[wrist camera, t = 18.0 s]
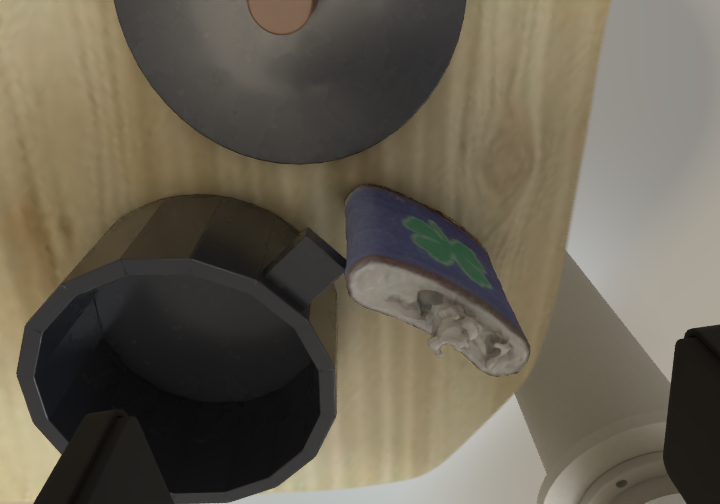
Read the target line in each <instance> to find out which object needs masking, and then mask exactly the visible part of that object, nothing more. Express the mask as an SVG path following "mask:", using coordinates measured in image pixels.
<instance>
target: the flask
mask: <svg viewBox="0 0 720 504" xmlns="http://www.w3.org/2000/svg"><path fill="white" fill-rule="evenodd" d="M344 206H345V217H346V239H347V263H346V268H345V278H346V287H347V290H348V293H349V296H350V297H351V298H352V299H353V300H354V301H356V302H357V303H359V304H360V305H362V306H363V307H365V308H368V309H371V310H374V311H378V312H381V313H383V314H385V315H388V316H392V317H396V318H398V319H400V320H403V321H405V322H406V323H408V324H412V325H413V326H414V327H416V328H419V329H421V330H423V331H425V332H427V333H429V334H431V336H432V337H431V338H430V339H429V340H428V346H429V347H430V348H431V349H432V350H433V351H434V352H435V354H436V356H437V357H444V356H445V355H444V354H443V353H442V351H441V350H440V348H441V346H442V345H444V344H449V345H451V346H452V347H453V348H454V349H455V350H458V351H460V352H461V353H462V354H463V355H464V356H465V357H467V358H468V359H469V360H470V361H471V362H472V363H473V364H474V365H475V366H476V367H477V368H478V369H479V370H481V371H483V372H485V373H486V374H488V375H491V376H496V377H498V376H501V375H507V376H508V375H512V374H516V373H518V372H519V371H520V370H521V368H522V367H523V366H524V365H525V364H526V363H527V361H528V358H529V354H530V345H529V343H528V341H527V339H526V337H525V335H524V334H523V331H522V329H521V327H520V325H519V323H518V321H517V319H516V317H515V314H514V312H513V311H512V309H511V307H510V304H509V302H508V301H507V298H506V296H505V293H504V291H503V289H502V286H501V283H500V281H499V279H498V278H497V276H496V273H495V271H494V269H493V267H492V264H491V262H490V258H489V256H488V253H487V251H486V249H485V248H483V247H482V245H481V243H480V242H479V241H478V240H477V238H475V237H474V236H472V235H471V234H469V233H468V232H467V230H466V229H465V228H464V227H460V225H458V224H457V222H456V221H453V220H452V219H451V218H450V217H446V216H445V215H443V214H442V213H441V212H439V211H435V210H433V209H431V208H429V207H427V206H426V205H424V204H422V203H419V202H417V201H416V200H413V199H412V198H408V197H406V196H405V195H403V194H400V193H399V192H395V191H393V190H391V189H389V188H386V187H382V186H377V185H373V184H369V185H365V184H362V185H361V186H359V187H356V188H355V189H354V190H353V191H352V192H351V193H350V194H349V195H348V197H347V199H346V202H345V205H344Z"/></svg>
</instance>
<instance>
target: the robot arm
mask: <svg viewBox="0 0 720 504" xmlns="http://www.w3.org/2000/svg"><path fill="white" fill-rule="evenodd" d="M34 504H174V502H173V500H172V497H171V495H170V493H169V490H168V488H167V486H166V483H165V481H164V479H163V477H162V474H161V472H160V470H159V467H158V465H157V463H156V461H155V458H154V456H153V454H152V451H151V449H150V447H149V444H148V442H147V440H146V438H145V435H144V433H143V431H142V428H141V426H140V424H139V422H138V420H137V418H136V417H134V416H128V414H127V413H126V412H125V411H124V410H123V409H117V410H109V411H102V412H95V413H89V414H88V415H86V416H85V417H84V418H83V420H82V421H81V423H80V425H79V426H78V428H77V430H76V431H75V433H74V435H73V437H72V438H71V440H70V442H69V443H68V445H67V447H66V449H65V450H64V452H63V454H62V455H61V457H60V459H59V461H58V462H57V464H56V466H55V467H54V469H53V471H52V473H51V474H50V476H49V478H48V479H47V481H46V483H45V485H44V486H43V488H42V490H41V492H40V493H39V495H38V497H37V498H36V500H35V502H34ZM580 504H720V325H714V326H707V327H700V328H692V329H690V330H687V332H686V333H685V336H684V339H679V340H678V341H677V342H676V345H675V352H674V361H673V370H672V379H671V388H670V397H669V406H668V415H667V423H666V432H665V441H664V450H663V451H661V452H654V453H649V454H645V455H642V456H638V457H635V458H632V459H630V460H628V461H625V462H623V463H621V464H619V465H617V466H615V467H614V468H612V469H610V470H609V471H607V472H606V473H605V474H603V475H602V476H601V477H600V478H598V479H597V480H596V481H595V482H594V483H593V484H592V485H591V487H590V488H589V489H588V490H587V491H586V493H585V495H584V496H583V498H582V499H581V501H580Z"/></svg>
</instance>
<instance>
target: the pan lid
mask: <svg viewBox="0 0 720 504" xmlns="http://www.w3.org/2000/svg"><path fill="white" fill-rule="evenodd" d="M114 3H115V7H116V11H117V15H118V20H119V22H120V25H121V28H122V31H123V33H124V36H125V39H126V42H127V44H128V46H129V48H130V50H131V52H132V54H133V56H134V58H135V60H136V62H137V64H138V66H139V68H140V69H141V71H142V72H143V74H144V75H145V77H146V78H147V80H148V81H149V83H150V84H151V86H152V87H153V88H154V90H155V91H156V92H157V93H158V95H159V96H160V97H161V98H162V99H163V101H164V102H165V103H166V104H167V105H168V106H169V107H170V108H171V109H172V110H173V111H174V112H175V113H176V114H177V115H178V116H179V117H180V118H181V119H182V120H183V121H185V122H186V123H187V124H189V125H190V126H191V127H193V128H194V129H195V130H197V131H198V132H199V133H200V134H202V135H204V136H205V137H207V138H209V139H210V140H212V141H214V142H215V143H217V144H219V145H221V146H223V147H225V148H228V149H230V150H232V151H234V152H237V153H239V154H242V155H245V156H248V157H252V158H255V159H258V160H263V161H269V162H274V163H281V164H313V163H323V162H327V161H332V160H337V159H341V158H344V157H347V156H350V155H353V154H356V153H359V152H361V151H363V150H365V149H367V148H369V147H371V146H373V145H375V144H377V143H379V142H380V141H382V140H383V139H385V138H387V137H388V136H390V135H391V134H393V133H394V132H395V131H397V130H398V129H399V128H400V127H401V126H402V125H404V124H405V123H406V122H407V121H408V120H409V119H411V118H412V117H413V115H414V114H415V113H416V112H417V111H418V110H419V109H420V108H421V107H422V106H423V104H424V103H425V102H426V101H427V99H428V98H429V97H430V95H431V94H432V92H433V91H434V89H435V88H436V87H437V85H438V84H439V82H440V80H441V78H442V76H443V74H444V73H445V71H446V69H447V67H448V65H449V63H450V60H451V58H452V55H453V53H454V50H455V48H456V45H457V42H458V39H459V35H460V31H461V27H462V23H463V19H464V13H465V6H466V0H114Z"/></svg>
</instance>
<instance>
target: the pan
mask: <svg viewBox="0 0 720 504" xmlns="http://www.w3.org/2000/svg"><path fill="white" fill-rule="evenodd" d="M346 263H347V261H346V259H345V258H343V257H342V256H341V255H340V254H339V253H338V252H337V251H335V250H334V249H333V248H332V247H331V246H330V245H328V244H327V243H326V242H325V241H324V240H323V239H321V238H320V237H319V236H318V235H317V234H316V233H314V232H313V231H312V230H311V229H310V228H309V227H307V228H306V229H305V230H304V231H303V232H302V233H301V234H300V233H299V232H298V231H297V230H296V229H295V228H293V227H292V226H291V225H289V224H288V223H287V222H285V221H284V220H283V219H281V218H279V217H277V216H276V215H274V214H272V213H271V212H269V211H267V210H265V209H262V208H260V207H258V206H255V205H253V204H251V203H247V202H244V201H240V200H237V199H234V198H228V197H222V196H216V195H198V194H196V195H182V196H175V197H170V198H165V199H161V200H158V201H155V202H152V203H149V204H147V205H144V206H142V207H140V208H138V209H136V210H134V211H133V212H131V213H129V214H128V215H126V216H124V217H121V218H120V219H118V220H117V221H116V222H115V223H114V224H113V226H112V227H111V228H110V229H109V230H108V231H107V232H106V233H105V235H104V236H103V237H102V238H101V239H100V240H99V241H98V242H97V244H96V245H95V246H94V247H93V248H92V249H91V250H90V251H89V253H88V254H87V255H86V256H85V257H84V258H83V259H82V260H81V262H80V263H79V264H78V265H77V266H76V267H75V268H74V269H73V271H72V272H71V273H70V274H69V275H68V276H67V277H66V278H65V280H64V281H63V282H62V283H61V284H60V285H59V286H58V288H57V289H56V290H55V291H54V292H53V293H52V294H51V296H50V297H49V298H48V299H47V300H46V301H45V302H44V304H43V305H42V306H41V307H40V308H39V309H38V310H37V312H36V313H35V314H34V315H33V316H32V317H31V318H30V320H29V321H28V322H27V323H26V325H25V328H24V334H23V339H22V345H21V351H20V356H19V362H18V367H17V373H16V374H17V378H18V381H19V384H20V387H21V389H22V392H23V395H24V398H25V401H26V404H27V407H28V410H29V413H30V416H31V418H32V421H33V422H34V425H35V426H36V427H37V428H38V429H39V430H40V431H41V432H42V433H43V435H44V436H45V437H46V438H47V439H48V440H49V441H50V442H51V443H52V444H53V446H54V447H55V448H56V449H57V450H58V451H59V452H60V453H61V454H63V452H64V450H65V449H66V447H67V445H68V443H69V442H70V440H71V438H72V437H73V435H74V433H75V431H76V430H77V428H78V426H79V425H80V423H81V421H82V420H83V418H84V417H85V416H86V415H88V414H89V413H95V412H102V411H109V410H117V409H123V410H124V411H125V412H126V413H127V414H128V416H134V417H136V418H137V420H138V422H139V424H140V426H141V428H142V431H143V433H144V435H145V438H146V440H147V442H148V444H149V447H150V449H151V451H152V454H153V456H154V458H155V461H156V463H157V465H158V467H159V470H160V472H161V474H162V477H163V479H164V481H165V483H166V486H167V488H168V490H169V493H170V495H171V497H172V500H173V502H174V504H199V503H228V502H232V501H235V500H239V499H241V498H244V497H248V496H251V495H254V494H257V493H260V492H263V491H266V490H269V489H272V488H275V487H277V486H279V485H280V484H281V483H283V482H284V481H285V480H287V479H288V478H289V477H290V476H292V475H293V474H294V473H296V472H297V471H298V470H299V469H301V468H302V467H303V466H304V465H306V464H307V463H308V462H310V461H311V460H312V459H313V458H314V457H316V455H317V453H318V451H319V449H320V447H321V445H322V443H323V441H324V439H325V437H326V436H327V434H328V432H329V430H330V428H331V426H332V424H333V422H334V420H335V418H336V414H337V349H338V324H337V293H336V290H335V288H334V286H333V282H334V281H335V280H337V279H338V278H339V277H340V276H341V275H342V274H343V273H344V272H345V268H346Z"/></svg>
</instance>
